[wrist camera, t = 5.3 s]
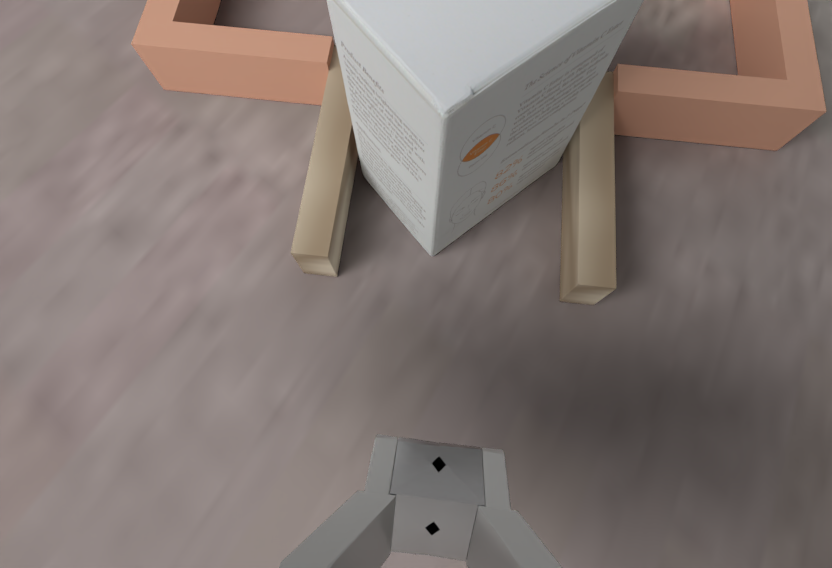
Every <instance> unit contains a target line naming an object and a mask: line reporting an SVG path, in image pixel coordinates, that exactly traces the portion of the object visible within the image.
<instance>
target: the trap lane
mask: <svg viewBox="0 0 832 568" xmlns="http://www.w3.org/2000/svg"><path fill="white" fill-rule="evenodd" d="M357 160H358V150H357V145H356V140H355V135H354V130H353V126H352V121H351V115H350V111H349V106H348V102H347V97H346V92H345V86H344V81H343V76H342V71H341V66H340V62H339V57H338V52H337V47H336V45H334V48H333V53H332V58H331V62H330V67H329V72H328V77H327V82H326V86H325V91H324V96H323V101H322V105H321V110H320V115H319V120H318V125H317V129H316V134H315V139H314V144H313V149H312V153H311V158H310V163H309V168H308V173H307V177H306V182H305V187H304V192H303V196H302V201H301V206H300V211H299V216H298V220H297V225H296V230H295V235H294V240H293V244H292V249H291V254H292V255H293V257H294V258H295V260H296V261H297V263H298V264H299V266H300V267H301V269H302V270H303V272H304V273H308V274H317V275H326V276H335V277H337V274H338V269H339V263H340V257H341V252H342V246H343V240H344V234H345V229H346V223H347V217H348V211H349V206H350V200H351V194H352V188H353V183H354V177H355V171H356V165H357ZM615 289H616V225H615V152H614V78H613V72H609V71H606V73H605V75H604V77H603V79H602V81H601V82H600V84H599V86H598V88H597V90H596V92H595V94H594V96H593V98H592V100H591V102H590V103H589V105H588V107H587V109H586V111H585V113H584V115H583V117H582V119H581V121H580V122H579V124H578V126H577V128H576V130H575V132H574V134H573V136H572V138H571V139H570V141H569V143H568V145H567V147H566V148H565V150H564V152H563V186H562V227H561V269H560V302H569V303H578V304H587V305H595V304H596V303H597V302H599V301H600V300H601V299H603V298H604V297H605V296H607V295H608V294H610V293H611V292H612V291H614V290H615Z"/></svg>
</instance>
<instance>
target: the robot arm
mask: <svg viewBox="0 0 832 568" xmlns="http://www.w3.org/2000/svg"><path fill="white" fill-rule="evenodd" d="M391 552H401V553H411V554H421V555H428V554H429V555H430V556H436V557H442V558H449V559H455V560H461V561H466V564H467V566H468V568H562V567H561V565H560V564H559V563H558V562H557V560H556V559H555V558H554V557H553V555H552V554H551V553H550V551H549V550H548V549H547V548H546V546H545V545H544V544H543V543H542V541H541V540H540V539H539V537H538V536H537V535H536V534H535V532H534V531H533V530H532V529H531V527H530V526H529V525H528V524H527V522H526V521H525V520H524V518H523V517H522V516H521V515H520V513H519V512H518V511H515V510H511V505H510V497H509V488H508V479H507V471H506V462H505V454H504V452H503V450H501V449H492V448H483V447H481V448H480V447H474V446H465V445H457V444H448V443H437V442H430V441H423V440H416V439H410V438H403V437H393V436H387V435H380V434H377V436H376V438H375V441H374V446H373V451H372V456H371V460H370V465H369V470H368V475H367V480H366V484H365V489H364V491H357V492H356V493H355V494H353V495H352V496H351V497H350V498H349V499H348V500H347V501H346V502H345V503H344V504H343V505H342V506H341V507H340V508H339V509H337V510H336V511H335V512H334V513H333V514H332V515H331V516H330V517H329V518H328V519H327V520H326V521H325V522H324V523H322V524H321V525H320V526H319V527H318V528H317V529H316V530H315V531H314V532H313V533H312V534H311V535H310V536H309V537H307V538H306V539H305V540H304V541H303V542H302V543H301V544H300V545H299V546H298V547H297V548H296V549H295V550H294V551H292V552H291V553H290V554H289V555H288V556H287V557H286V558H285V559H284V560H283V561H282V562H281V564H280V567H279V568H380V567H381V566H382V565H383V563H384V562H385V561H386V559H387V558H388V557H389V555H390V553H391Z"/></svg>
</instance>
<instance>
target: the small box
mask: <svg viewBox="0 0 832 568" xmlns="http://www.w3.org/2000/svg"><path fill="white" fill-rule="evenodd" d="M642 2H643V0H327V4H328V10H329V14H330V19H331V23H332V28H333V33H334V38H335V43H336V47H337V52H338V57H339V62H340V66H341V71H342V76H343V81H344V86H345V92H346V97H347V102H348V106H349V111H350V115H351V121H352V126H353V130H354V135H355V140H356V145H357V150H358V154H359V159H360V164H361V168H362V173H363V176H364V177H365V179H366V180H367V181H368V182H369V183H370V185H371V186H372V187H373V188H374V190H375V191H376V192H377V193H378V194H379V196H380V197H381V198H382V199H383V200H384V202H385V203H386V204H387V205H388V206H389V208H390V209H391V210H392V211H393V212H394V214H395V215H396V216H397V217H398V218H399V220H400V221H401V222H402V223H403V224H404V225H405V227H406V228H407V229H408V230H409V231H410V233H411V234H412V235H413V236H414V237H415V239H416V240H417V241H418V242H419V243H420V244H421V246H422V247H423V248H424V249H425V250H426V251H427V253H428V254H429V255H430V256H435V255H436V254H437V253H439V252H440V251H441V250H442V249H444V248H445V247H446V246H448V245H449V244H450V243H452V242H453V241H454V240H456V239H457V238H459V237H460V236H461V235H462V234H464V233H465V232H466V231H468V230H469V229H471V228H472V227H473V226H475V225H476V224H477V223H479V222H480V221H481V220H483V219H484V218H485V217H487V216H488V215H489V214H491V213H492V212H493V211H495V210H496V209H498V208H499V207H500V206H502V205H503V204H504V203H506V202H507V201H508V200H510V199H511V198H513V197H514V196H515V195H517V194H518V193H519V192H520V191H522V190H523V189H524V188H526V187H527V186H528V185H530V184H531V183H533V182H534V181H535V180H537V179H538V178H539V177H541V176H542V175H543V174H545V173H546V172H548V171H549V170H550V169H552V168H553V167H555V166H556V165H557V163H558V162H559V160H560V158H561V156H562V154H563V152H564V150H565V148H566V147H567V145H568V143H569V141H570V139H571V138H572V136H573V134H574V132H575V130H576V128H577V126H578V124H579V122H580V121H581V119H582V117H583V115H584V113H585V111H586V109H587V107H588V105H589V103H590V102H591V100H592V98H593V96H594V94H595V92H596V90H597V88H598V86H599V84H600V82H601V81H602V79H603V77H604V75H605V73H606V71H607V69H608V67H609V66H610V63H611V61H612V59H613V58H614V56H615V54H616V52H617V50H618V48H619V46H620V44H621V42H622V40H623V38H624V36H625V35H626V33H627V31H628V29H629V27H630V25H631V23H632V21H633V20H634V18H635V16H636V14H637V12H638V10H639V8H640V6H641V4H642Z"/></svg>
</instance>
